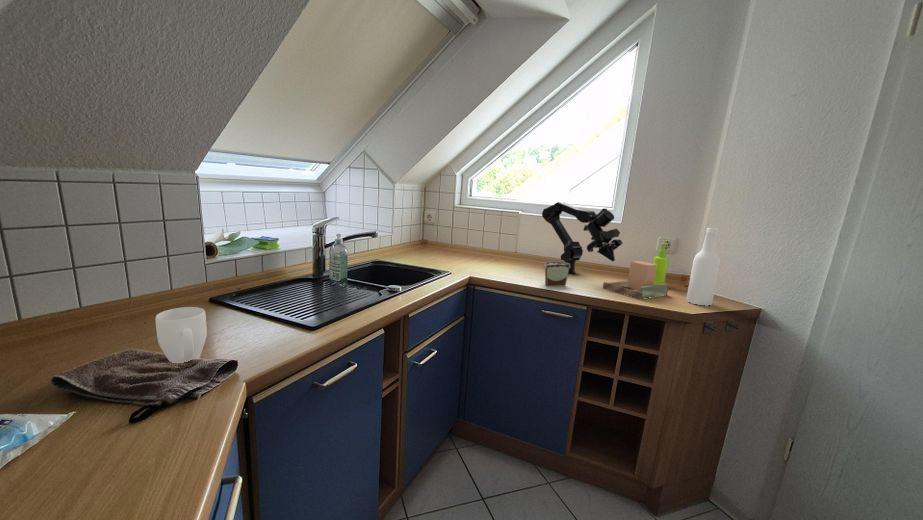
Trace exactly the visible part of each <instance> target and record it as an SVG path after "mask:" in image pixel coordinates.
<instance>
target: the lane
mask: <svg viewBox="0 0 923 520" xmlns="http://www.w3.org/2000/svg"><path fill="white" fill-rule="evenodd" d="M627 284H628V280H622V281H614V282H605V281H604V282H603V285H602V289H605V290H607V289H608V290H607V291H611V292H614V291H615V293H617V292H618V294H620V293H621V295H623V294H625V295H624V296H627V295H628V296H627V297H630V296H632V297H631V298H633V297H635V298H634V299H636V298H638V299H637V300H639V299H642V300H645V299H644V298H648V299H650V298H649V297H653V298H656V297H655V296H659V297H663V296H662V295H665V296H668V291H669V289H668V283H665V282H664V283H663V284H656V285H649V286H643V287H641V289H640V290H637V289H634V288H630V287H627Z"/></svg>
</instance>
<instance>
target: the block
mask: <svg viewBox="0 0 923 520" xmlns="http://www.w3.org/2000/svg"><path fill="white" fill-rule="evenodd" d="M656 268H657V265H656V264H653V263H650V262H647V261H641V260H635V261H630V265H629V273H628V278H627V281H628V284H627V287H630V288H634V289H637V290H640V289H641V287H643V286H649V285H654V280H655V274H656Z"/></svg>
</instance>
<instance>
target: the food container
mask: <svg viewBox="0 0 923 520" xmlns="http://www.w3.org/2000/svg"><path fill="white" fill-rule="evenodd" d="M543 268H544V269H545V271H544V272H545V274H544V276H545V277H544V285H545V287H565V285H567V280H568V275H569V273H568V271H569V268H570V263H566V262H564V261H559V260H547V261H545V263H544V265H543Z"/></svg>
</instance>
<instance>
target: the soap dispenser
mask: <svg viewBox="0 0 923 520" xmlns="http://www.w3.org/2000/svg"><path fill="white" fill-rule="evenodd" d="M667 245H669V243H668V242H661V243H660V249H658V251H657V256H654V258H653V263H652V264H656V265H657V268H656V274H655V280H654V285H656V284H663V283H665V282H666V276H667V269H668V264H669V258H668V257H667V250H666V246H667Z"/></svg>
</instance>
